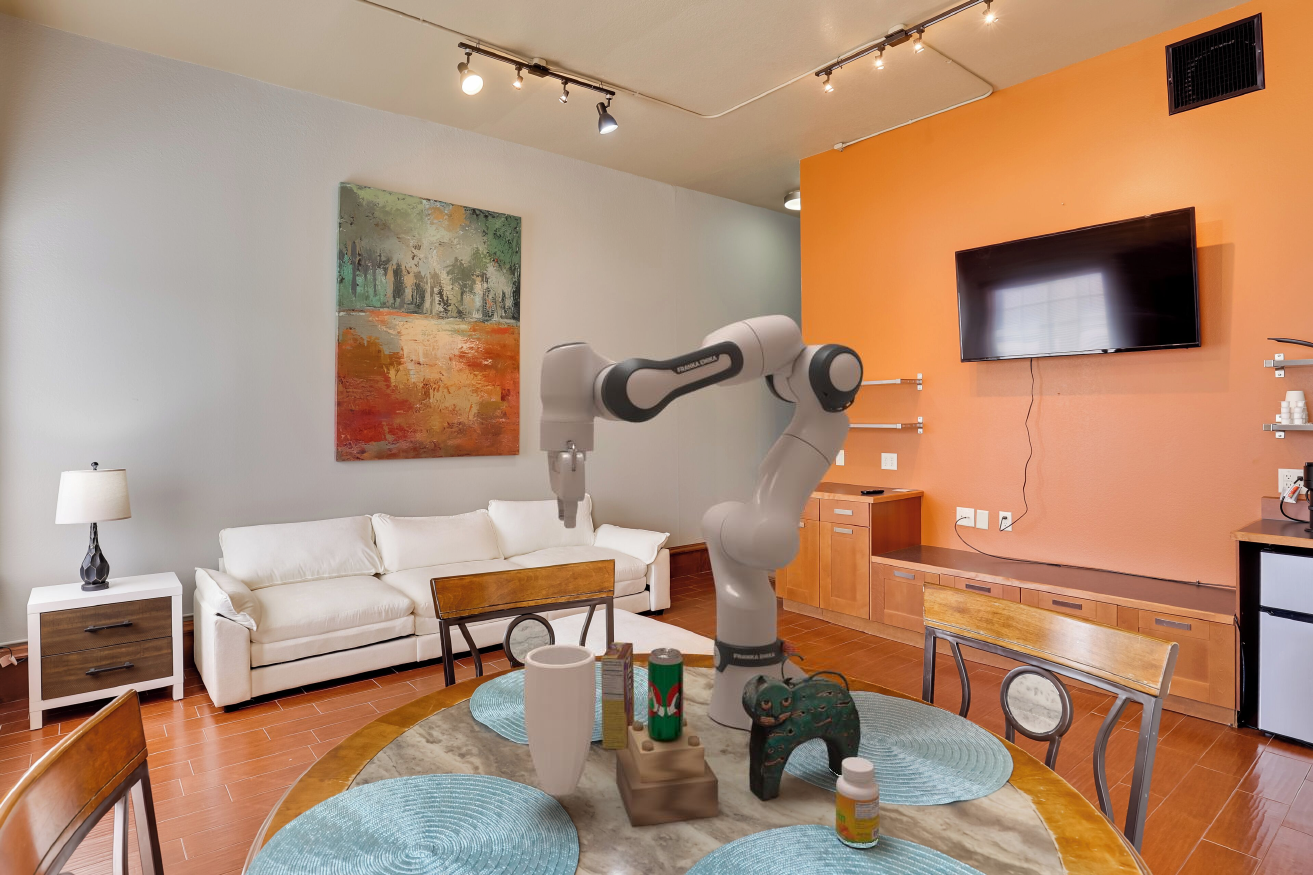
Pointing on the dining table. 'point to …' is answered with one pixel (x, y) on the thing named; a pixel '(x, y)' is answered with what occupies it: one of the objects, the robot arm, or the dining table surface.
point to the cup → (559, 713)
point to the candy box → (617, 694)
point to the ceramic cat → (796, 724)
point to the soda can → (665, 694)
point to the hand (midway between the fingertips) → (566, 523)
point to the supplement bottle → (857, 802)
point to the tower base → (665, 795)
